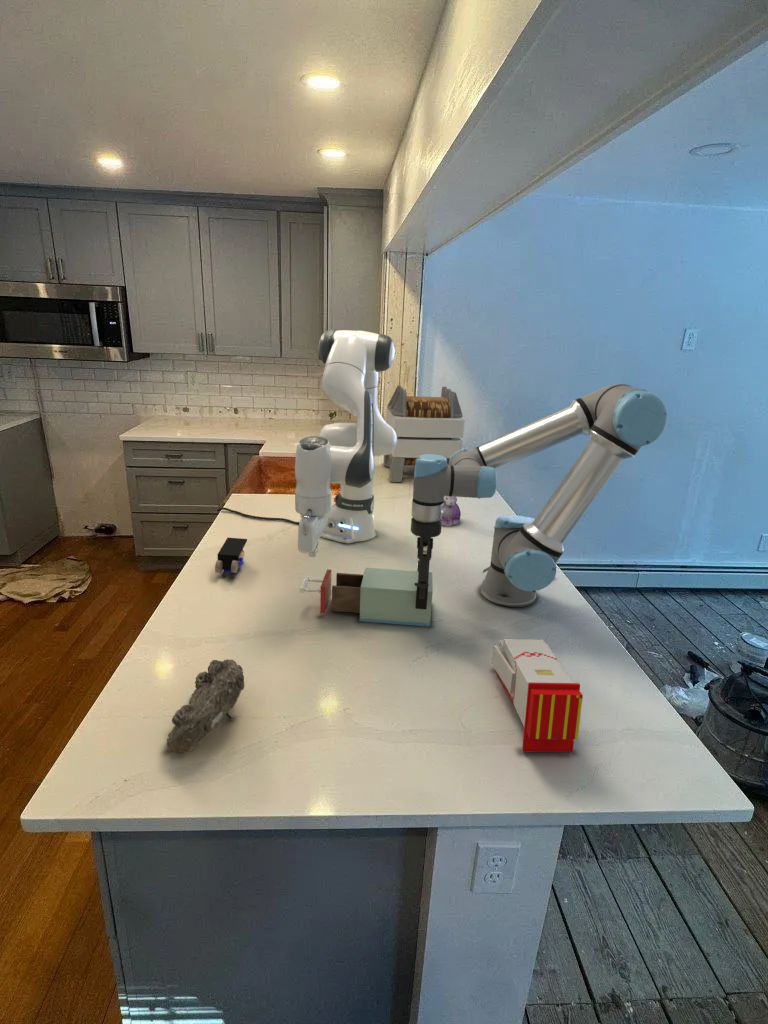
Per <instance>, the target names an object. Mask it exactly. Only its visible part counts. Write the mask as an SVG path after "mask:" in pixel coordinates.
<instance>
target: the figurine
mask: <svg viewBox="0 0 768 1024" xmlns="http://www.w3.org/2000/svg"><path fill="white" fill-rule="evenodd" d="M457 501H458V497H453V496H444V502H443V506H445V507H446V508H445V510H442V511H443V512H442V518H441V520H442V526H447V527H451V526H455V525H458V524H459V522H460V520H461V515H462V514H461V509H460V506H459V504H458V503H457Z"/></svg>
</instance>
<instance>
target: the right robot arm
mask: <svg viewBox="0 0 768 1024" xmlns="http://www.w3.org/2000/svg"><path fill="white" fill-rule="evenodd" d="M667 422H668V414H667V408H666V405H665V404H664V402H663V400H662V399H661V398H660V397H658V396H657V395H656V394H654V393H652V392H651V391H648V390H646V389H643V388H639V387H635V386H632V385H630V384H627V383H615V384H610V385H607V386H606V385H605V386H604V387H601V388H599V389H596V390H594V391H592V392H589V393H588V394H584V395H583V396H581V397H578V398H575V399H574V400H573V401H571V404H570V405H569V406H568V407H565V408H563V409H561V410H559V411H557V412H554V413H552V414H550V415H547V416H545V417H542V418H540V419H538V420H535V421H532V422H531V423H529V424H527V425H524V426H522V427H520V428H518V429H515V430H512V431H510V432H508V433H506V434H503V435H501V436H499V437H497V438H494V439H492V440H490V441H489V440H488V441H487V442H485V443H482V444H481V445H478V446H476V447H473V448H470V449H462V450H458V451H456V452H455V453H454V454H453V455H452V456H451V458H450V461H449V465H447V459H446V458H445V457H443V456H441V455H435V454H425V455H421V456H419V457H418V458H417V459H416V462H415V466H414V472H413V484H412V485H413V486H412V487H413V489H412V500H411V513H410V514H411V518H410V519H411V520H410V522H411V523H410V532H411V534H413V535H414V536H415V537H416V549H417V555H416V556H417V557H416V558H417V559H418V560H417V570H416V571H418V582H417V583H415V586H417V592H416V607H415V609H426V608H427V595H428V586H429V584H428V579H429V572H430V561H431V560H432V554H433V548H434V538H436V537H439V536H440V535H441V534H442V527H443V525H442V520H441V518H442V512H443V511H442V510H445V508H446V507H445V506H443V502H444V496H453V497H457V498H472V499H473V498H474V499H490V498H493V497H494V496H495V493H496V490H497V485H498V484H497V483H498V476H497V475H498V474H497V470H499V469H501V468H504V467H506V466H509V465H511V464H513V463H516V462H519V461H521V460H523V459H526V458H527V457H530V456H533V455H535V454H538V453H541V451H545V450H547V449H550V448H552V447H554V446H557V445H559V444H561V443H564V442H566V441H568V440H570V439H574V438H575V437H579V436H580V435H583V436H586V437H589V436H590V440H589V442H588V443H587V444H586V446H585V447H584V449H583V450H582V452H581V453H580V454H579V456H578V457H577V459H576V460H575V462H574V463H573V465H572V466H571V467H570V469H569V471H567V473H566V474H565V476H564V477H563V479H562V480H561V482H560V483H559V484H558V486H557V487H556V489H555V491H554V492H553V493H552V495H551V496H550V497H549V499H548V500H547V502H546V503H545V505H544V506H543V507H542V509H541V510H540V512H539V513H538V515H537V516H536V517H535V518H533V517H529V516H525V515H517V514H516V515H515V514H510V515H509V514H506V515H501V516H499V517H497V518H496V520H495V523H494V526H493V530H494V531H493V539H492V548H491V556H490V563H489V566H488V567H486V568H484V569H483V570H482V573H483V574H484V573H486V574H485V577H484V579H483V580H482V583H481V585H480V593H481V595H482V596H483V598H484V599H486V600H487V601H489V602H491V603H493V604H495V605H498V606H503V607H508V608H521V607H527V606H530V605H532V604H534V603H535V601H536V599H537V591H540V590H543V589H545V588H547V587H548V586H549V585H551V583H553V581H554V580H555V577H556V575H557V564H556V563H557V562H558V561H559V559H560V558H561V557H562V555H563V554H564V552H565V547H564V541H565V540H566V539H567V538H568V536H569V535H570V533H571V532H572V530H573V529H574V528H575V526H576V525H577V524H578V522H579V521H580V519H581V518H582V517H583V515H584V514H585V513H586V511H587V510H588V509H589V507H590V506H591V504H592V503H593V501H594V500H595V499H596V498H597V497H598V495H599V493H600V492H601V491H602V490H603V488H604V487H605V485H606V484H607V482H608V481H609V480H610V478H611V477H612V476H613V474H614V473H615V472H616V470H617V469H618V467H619V466H620V465H621V463H622V462H623V461H624V460H626V459H632V458H635V456H636V454H637V453H638V452H639V450H640V449H641V448H642V447H644V446H647V445H650V444H653V443H654V442H656V441H657V440H658V439H659V438H660V437H661V436H662V434H663V433H664V431H665V429H666V426H667Z"/></svg>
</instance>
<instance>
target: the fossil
mask: <svg viewBox="0 0 768 1024" xmlns="http://www.w3.org/2000/svg"><path fill="white" fill-rule="evenodd" d="M243 670H244V669H243V667H242V665H240V664H237V662H236V661H235V660H234V659H232V658H231V659H227V658H226V659H224V660H223V661H222V660H217V659H212V660H211V661H210V663H209V665H208V666H207V671H201V672H199V673H198V674H197V675H196V676H195V680H194V684H195V685H194V687H195V689H194V690H193V693H192V694H191V697H190V698H189V700H188V704H184V705H182V706H181V707H180V709H177V710H176V711H175V713H174V715H173V716H172V718H171V723H172V724H173V727H172V730H171V731H170V732H168V734H167V738H166V741H167V742H166V745H167V749H168V750H169V751H173V752H174V753H176V754H178V753H182V752H188V751H189V752H192V751H193V750H195V748H196V747H197V746H199V744H200V743H201V742H203V741H204V740H205V739H206V738H207V737H208V736H209V735H210V734H211V733H212V732H214V730H215V729H217V727H218V726H219V724H220V722H221V721H222V720H223V719H224V718H225V716H226V717H227V719H229V720H233V717H232V715H230V714H229V710H230V709H231V708H234V706H235V704H236V703H237V702H238V699H239V697H240V695H241V693H242V691H243V690H245V689H244V688H245V675H244V671H243Z"/></svg>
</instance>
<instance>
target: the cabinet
mask: <svg viewBox="0 0 768 1024" xmlns="http://www.w3.org/2000/svg"><path fill="white" fill-rule="evenodd" d="M362 575H363V579H362V584H361V592H360V613H359V622H366V623H379V624H391V625H392V624H393V625H403V626H404V625H405V626H417V627H418V626H419V627H428V628H429V627H430V628H431V619H432V617H431V616H432V608H433V607H432V605H433V593H434V590H433V589H434V588H433V586H434V585H433V572H432V571H429V579H428V584H429V586H428V595H427V608H426V609H415V607H416V592H417V586H415V583H417V582H418V571H417V570H405V569H391V568H390V569H389V568H376V567H365V568H364V572H363V574H362Z"/></svg>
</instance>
